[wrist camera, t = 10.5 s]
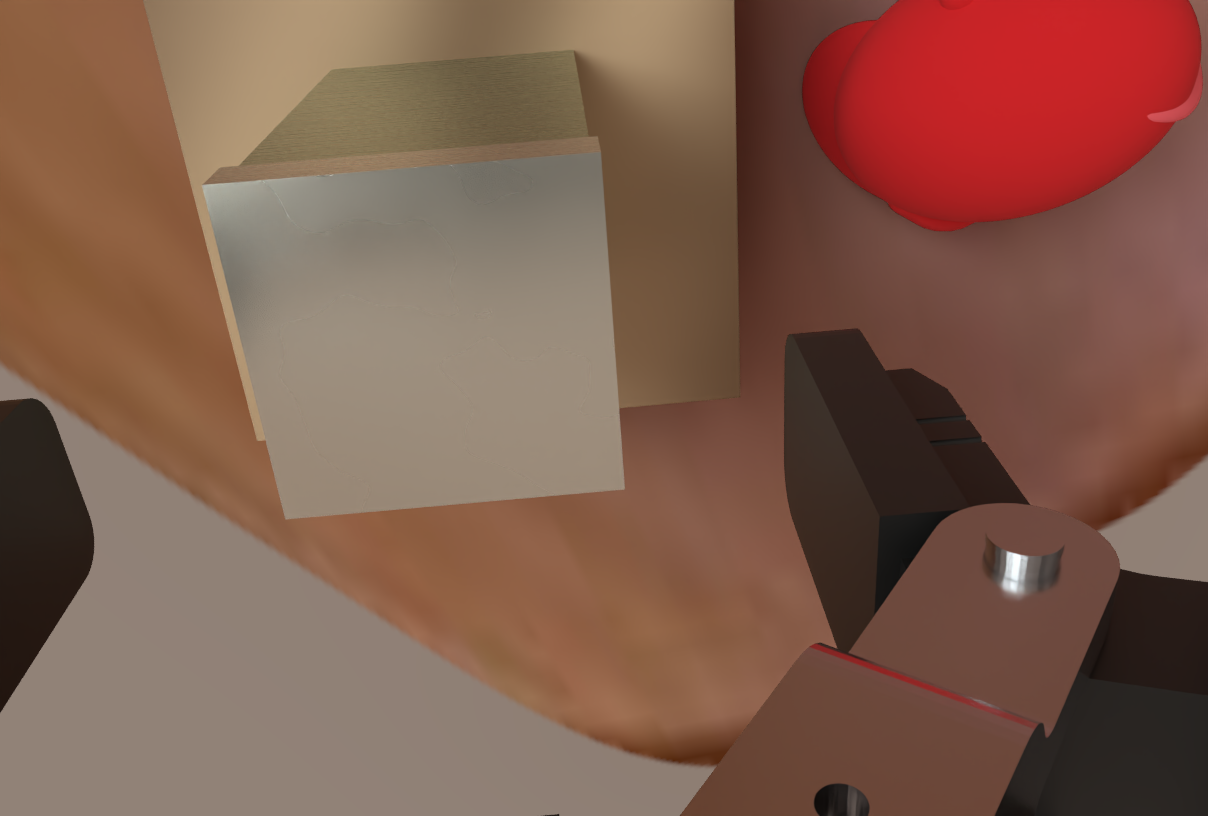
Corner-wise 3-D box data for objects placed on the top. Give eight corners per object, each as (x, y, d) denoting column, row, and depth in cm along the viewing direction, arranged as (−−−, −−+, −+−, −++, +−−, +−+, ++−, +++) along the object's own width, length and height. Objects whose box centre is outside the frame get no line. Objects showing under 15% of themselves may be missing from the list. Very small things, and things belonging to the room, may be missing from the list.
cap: (1220, -167, 20) (1019, -137, 18) (1288, 138, 21) (1106, 213, 18) (913, -11, 27) (735, 28, 25) (973, 213, 28) (807, 276, 25)
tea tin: (578, 43, 20) (600, 152, 13) (596, 281, 22) (624, 489, 15) (324, 64, 20) (201, 184, 12) (368, 300, 22) (285, 519, 15)
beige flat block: (694, -146, 23) (731, -146, 18) (708, 310, 28) (740, 397, 23) (200, -105, 23) (118, -95, 18) (302, 346, 28) (257, 440, 23)
